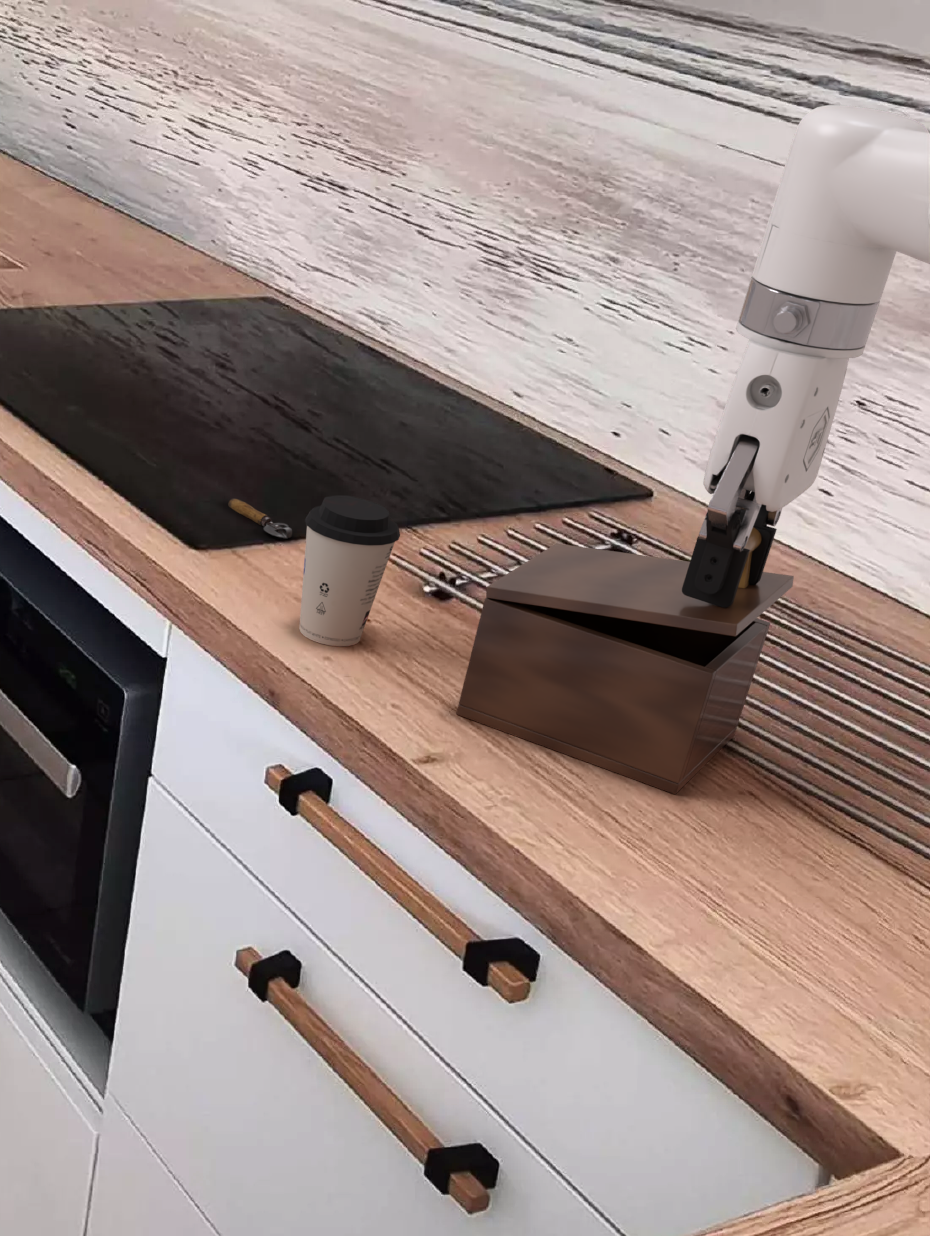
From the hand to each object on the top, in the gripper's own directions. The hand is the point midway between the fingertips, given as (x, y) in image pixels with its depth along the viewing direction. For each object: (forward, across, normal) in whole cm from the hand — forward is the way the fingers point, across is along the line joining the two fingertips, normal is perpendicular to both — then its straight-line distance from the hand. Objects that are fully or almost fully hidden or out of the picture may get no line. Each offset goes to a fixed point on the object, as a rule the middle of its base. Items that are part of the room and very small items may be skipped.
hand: (720, 586), depth 131 cm
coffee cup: (+13, 0, +26) cm, 29 cm away
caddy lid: (+2, 0, +5) cm, 5 cm away
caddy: (+12, 0, +5) cm, 13 cm away
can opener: (+13, +17, +41) cm, 46 cm away
